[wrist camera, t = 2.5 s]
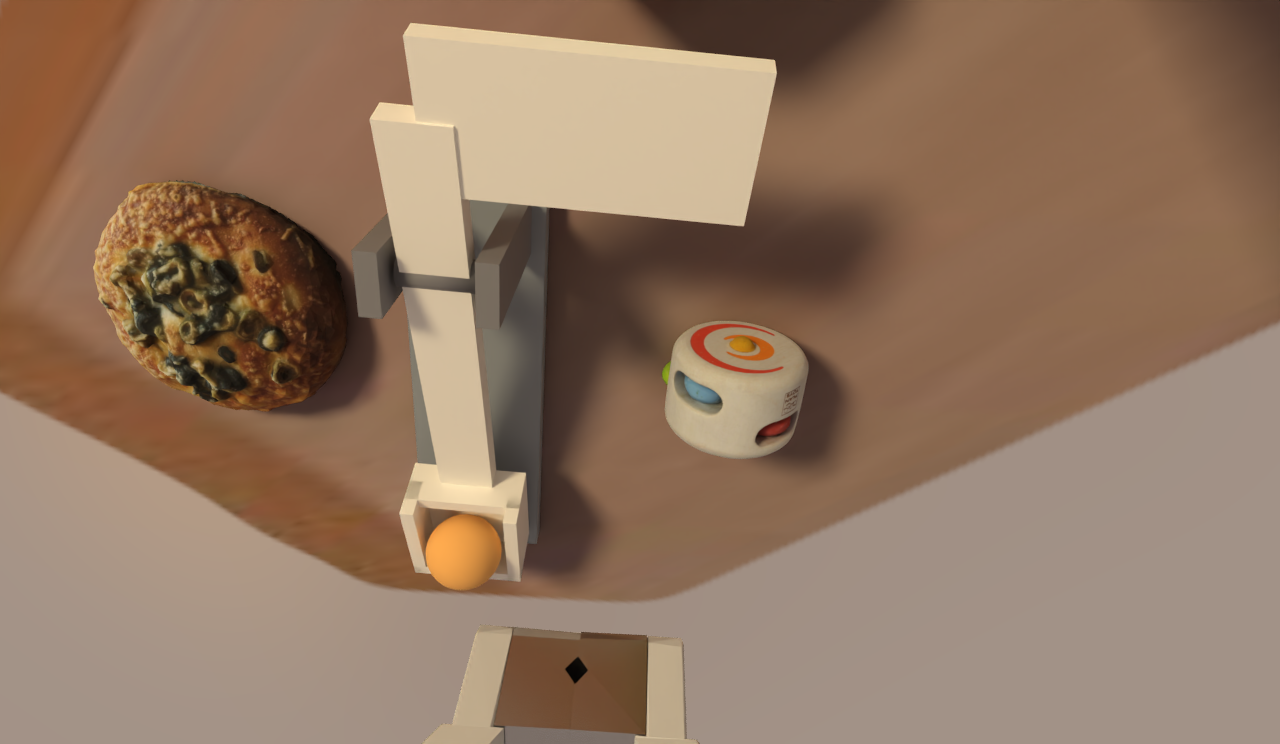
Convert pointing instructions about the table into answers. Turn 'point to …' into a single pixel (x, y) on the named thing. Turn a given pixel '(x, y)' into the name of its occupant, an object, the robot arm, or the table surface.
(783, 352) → the roller toy
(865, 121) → the table surface
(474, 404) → the lever
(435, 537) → the ball
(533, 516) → the catapult base
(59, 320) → the table surface
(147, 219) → the bread roll
